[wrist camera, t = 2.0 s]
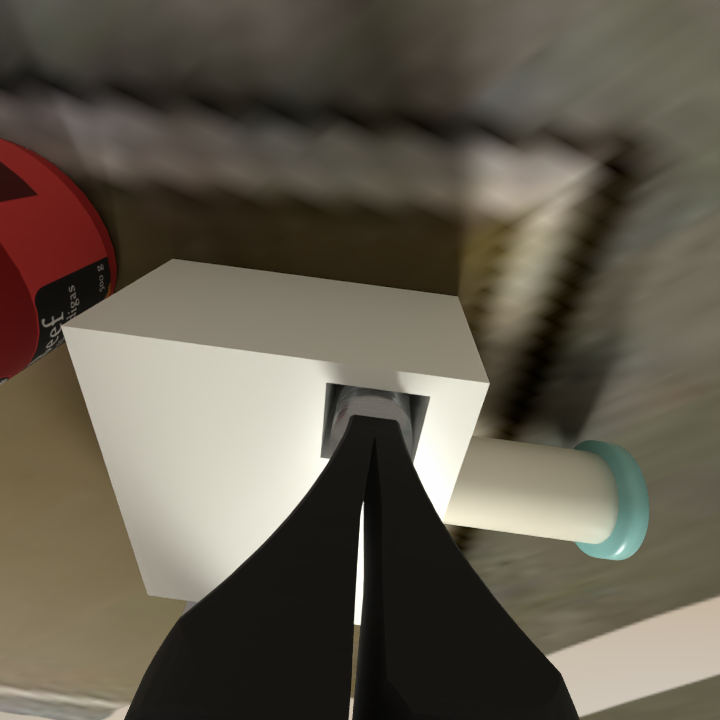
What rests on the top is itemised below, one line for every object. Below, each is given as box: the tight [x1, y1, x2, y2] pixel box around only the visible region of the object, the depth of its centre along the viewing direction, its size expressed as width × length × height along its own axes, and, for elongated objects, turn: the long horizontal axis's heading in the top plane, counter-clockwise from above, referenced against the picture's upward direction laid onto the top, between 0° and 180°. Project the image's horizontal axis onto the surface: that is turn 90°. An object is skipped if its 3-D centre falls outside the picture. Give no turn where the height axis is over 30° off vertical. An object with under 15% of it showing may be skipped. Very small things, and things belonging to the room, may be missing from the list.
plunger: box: [330, 384, 412, 455], centre depth 13 cm, size 2×2×4 cm
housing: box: [61, 259, 490, 625], centre depth 17 cm, size 14×12×6 cm
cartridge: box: [442, 436, 649, 560], centre depth 17 cm, size 5×17×5 cm, turn 84°
